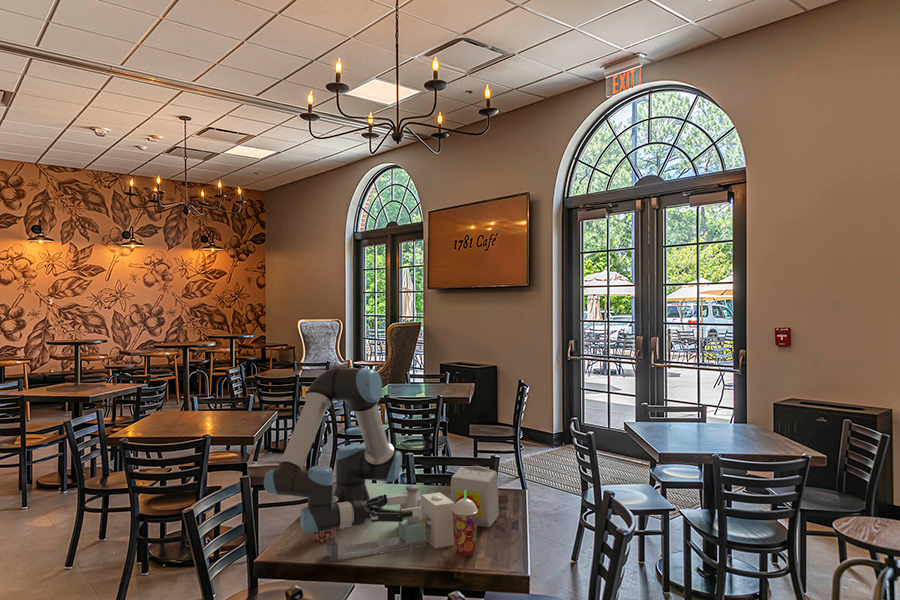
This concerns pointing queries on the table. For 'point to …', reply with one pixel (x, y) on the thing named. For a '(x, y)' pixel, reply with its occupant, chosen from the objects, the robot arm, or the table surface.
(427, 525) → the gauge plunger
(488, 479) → the electrical switch box
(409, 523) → the carriage
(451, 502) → the white notched housing
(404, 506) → the can
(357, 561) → the table surface
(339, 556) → the rail
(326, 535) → the mug
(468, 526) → the smoothie
